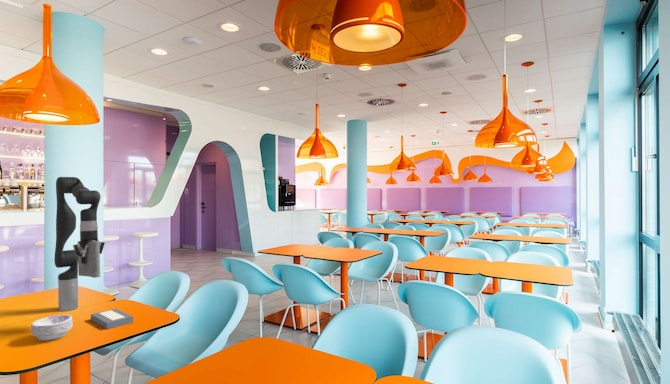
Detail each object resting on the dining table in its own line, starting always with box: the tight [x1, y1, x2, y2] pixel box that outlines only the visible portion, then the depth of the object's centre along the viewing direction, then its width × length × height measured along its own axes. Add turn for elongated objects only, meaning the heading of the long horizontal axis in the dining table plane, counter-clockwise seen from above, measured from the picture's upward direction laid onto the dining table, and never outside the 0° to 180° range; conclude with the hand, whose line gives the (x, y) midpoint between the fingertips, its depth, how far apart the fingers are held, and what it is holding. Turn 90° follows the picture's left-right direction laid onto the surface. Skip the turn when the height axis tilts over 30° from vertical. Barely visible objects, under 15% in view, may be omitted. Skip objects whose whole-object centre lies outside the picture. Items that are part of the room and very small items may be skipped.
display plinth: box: [90, 308, 134, 330], centre depth 197 cm, size 22×12×3 cm, turn 50°
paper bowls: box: [30, 314, 73, 342], centre depth 176 cm, size 15×15×8 cm
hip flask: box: [77, 239, 101, 278], centre depth 196 cm, size 16×4×20 cm, turn 61°
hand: (89, 263), depth 195 cm, fingers closed on hip flask, 4 cm apart
